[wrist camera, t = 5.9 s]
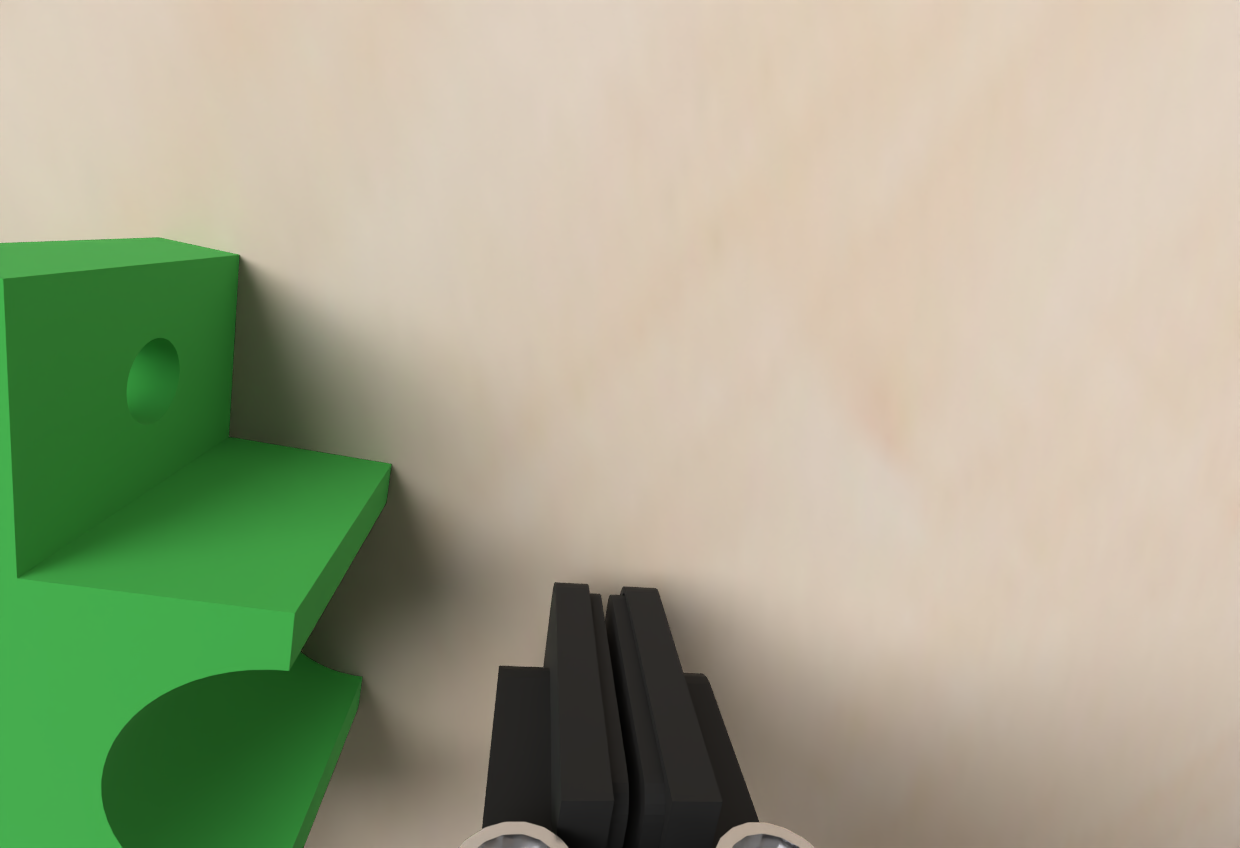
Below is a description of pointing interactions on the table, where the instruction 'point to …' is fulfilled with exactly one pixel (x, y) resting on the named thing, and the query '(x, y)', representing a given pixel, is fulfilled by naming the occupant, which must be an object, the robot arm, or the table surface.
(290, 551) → the pipe clamp
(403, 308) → the table surface
